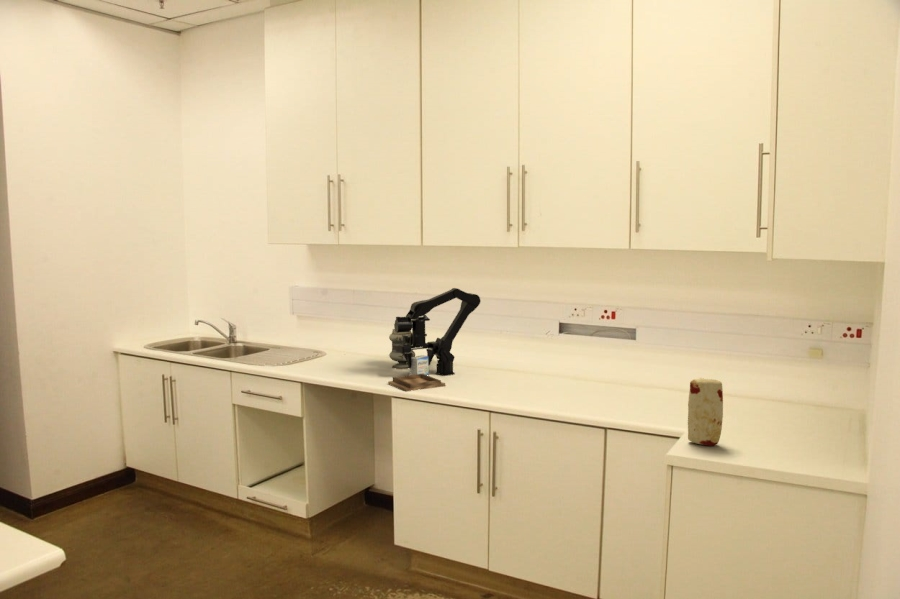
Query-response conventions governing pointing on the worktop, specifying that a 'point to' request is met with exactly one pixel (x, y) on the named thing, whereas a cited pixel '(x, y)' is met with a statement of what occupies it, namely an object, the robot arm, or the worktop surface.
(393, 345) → the grey ornate vase
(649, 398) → the worktop surface
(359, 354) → the worktop surface
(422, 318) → the robot arm
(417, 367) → the medicine box
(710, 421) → the food model
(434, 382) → the walnut tray
